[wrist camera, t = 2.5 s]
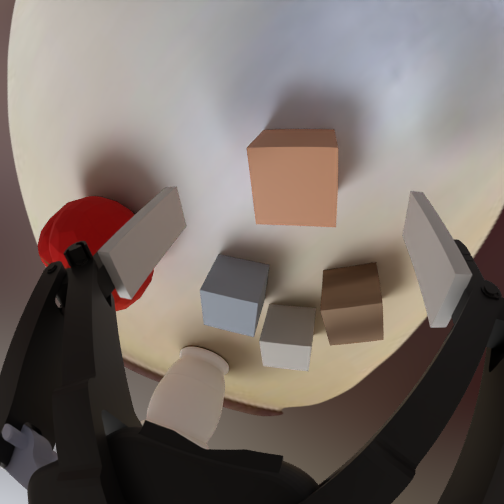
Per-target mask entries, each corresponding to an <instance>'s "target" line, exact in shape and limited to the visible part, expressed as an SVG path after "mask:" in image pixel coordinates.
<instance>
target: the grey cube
mask: <svg viewBox="0 0 504 504" xmlns="http://www.w3.org/2000/svg"><path fill="white" fill-rule="evenodd" d="M315 312H316V308H310V307H297V306H285V305H274V304H269V307H268V311H267V315H266V318H265V322H264V326H263V329H262V333H261V336H260V340H259V343H260V349H261V355H262V361H263V366H268V367H275V368H283V369H292V370H302V371H308V370H309V364H310V356H311V349H312V341H313V333H314V323H315Z"/></svg>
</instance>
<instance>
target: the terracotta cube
mask: <svg viewBox="0 0 504 504" xmlns="http://www.w3.org/2000/svg"><path fill="white" fill-rule="evenodd" d="M247 155H248V163H249V171H250V179H251V187H252V195H253V203H254V211H255V219H256V224H270V225H297V226H320V227H336V214H337V191H338V144H337V140H336V135H335V130H334V129H271V130H263V131H262V132H261V133H260V134H259V135H258V136H257V138H256V139H255V140H254V141H253V142H252V143H251V144H250V145H249V146H248V147H247Z"/></svg>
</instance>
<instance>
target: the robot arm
mask: <svg viewBox="0 0 504 504" xmlns="http://www.w3.org/2000/svg"><path fill="white" fill-rule="evenodd" d="M185 227H186V222H185V218H184V214H183V210H182V206H181V202H180V198H179V194H178V190H177V187H166V188H165V189H163V190H162V191H161V192H160V193H159V194H158V195H156V196H155V197H154V198H153V199H152V200H151V201H150V202H148V203H147V204H146V205H145V206H144V207H143V208H142V209H141V210H140V211H138V212H137V213H136V214H135V215H134V216H133V217H132V218H131V219H130V220H129V221H128V222H127V223H126V224H125V225H123V226H122V227H121V228H120V229H119V230H118V231H117V232H116V233H115V234H114V235H113V236H112V237H111V238H110V239H109V240H108V241H107V242H106V243H105V244H104V245H103V246H102V247H101V248H100V249H99V250H98V251H97V252H96V253H95V254H94V255H93V256H92V254H91V251H90V249H89V247H88V245H87V243H86V241H79V242H76V243H74V244H72V245H71V246H69V247H68V248H67V249H66V250H65V252H64V256H65V258H66V260H67V262H68V264H69V265H70V267H71V268H66V269H65V267H64V266H63V264H62V262H61V261H56V262H52V263H51V264H49V265H48V267H46V269H45V270H44V271H43V273H42V275H41V277H40V279H39V281H38V283H37V285H36V286H35V288H34V291H33V292H32V295H31V297H30V299H29V301H28V303H27V305H26V307H25V310H24V312H23V314H22V316H21V319H20V321H19V323H18V326H17V328H16V331H15V333H14V336H13V339H12V341H11V344H10V347H9V349H8V352H7V355H6V358H5V361H4V364H3V368H2V371H1V374H0V468H1V469H3V470H5V471H7V472H8V473H9V474H10V475H11V476H13V477H14V478H15V479H16V480H17V481H18V482H19V483H20V484H21V485H22V486H23V487H25V488H26V489H27V490H28V502H29V503H28V504H391V503H392V502H393V501H394V500H395V499H396V498H397V497H398V496H399V495H400V493H401V492H402V491H403V490H404V489H405V488H406V487H407V486H408V484H409V483H410V482H411V480H412V479H413V477H414V475H415V469H416V467H417V465H418V464H419V463H420V461H421V460H422V459H423V457H424V456H425V455H426V454H427V452H428V451H429V449H430V448H431V447H432V445H433V444H434V442H435V441H436V440H437V438H438V437H439V435H440V434H441V432H442V431H443V429H444V428H445V426H446V424H447V423H448V421H449V420H450V418H451V416H452V415H453V413H454V411H455V410H456V408H457V406H458V404H459V403H460V401H461V399H462V397H463V395H464V393H465V391H466V390H467V387H468V386H469V384H470V382H471V380H472V377H473V375H474V373H475V371H476V369H477V366H478V365H479V362H480V360H481V358H482V355H483V353H484V350H485V348H486V347H487V350H486V357H485V364H484V370H483V375H482V380H481V386H480V390H479V395H478V399H477V403H476V407H475V411H474V415H473V418H472V422H471V425H470V428H469V431H468V434H467V437H466V440H465V443H464V446H463V448H462V451H461V453H460V456H459V459H458V461H457V463H456V466H455V468H454V471H453V473H452V475H451V477H450V479H449V481H448V484H447V486H446V488H445V490H444V492H443V494H442V496H441V497H440V499H439V501H438V504H504V298H503V297H502V295H501V292H500V290H499V289H498V288H497V286H495V285H494V284H493V283H492V282H489V281H487V280H484V278H483V277H482V275H481V273H480V271H479V269H478V267H477V265H476V263H475V262H474V259H473V258H472V256H470V252H469V251H468V249H467V247H466V246H465V245H464V244H463V243H462V242H461V241H459V240H454V239H453V238H452V236H451V235H450V233H449V231H448V230H447V228H446V226H445V225H444V223H443V222H442V220H441V218H440V217H439V215H438V214H437V212H436V211H435V209H434V208H433V206H432V205H431V203H430V202H429V200H428V199H427V197H426V196H425V195H424V193H423V192H415V191H410V197H409V203H408V209H407V214H406V220H405V225H404V230H403V235H402V236H403V238H404V241H405V244H406V247H407V249H408V252H409V255H410V258H411V261H412V264H413V267H414V270H415V273H416V276H417V279H418V282H419V286H420V289H421V293H422V296H423V300H424V303H425V307H426V311H427V315H428V319H429V323H430V327H446V326H447V324H448V323H449V321H450V319H451V317H452V320H453V323H454V326H453V328H452V329H451V331H450V333H449V334H448V336H447V338H446V339H445V341H444V343H443V345H442V346H441V348H440V350H439V351H438V353H437V354H436V356H435V358H434V359H433V361H432V362H431V364H430V365H429V367H428V368H427V370H426V371H425V373H424V374H423V376H422V377H421V378H420V380H419V381H418V382H417V384H416V385H415V387H414V388H413V389H412V391H411V392H410V393H409V394H408V396H407V397H406V398H405V400H404V401H403V402H402V404H401V405H400V406H399V407H398V408H397V410H396V411H395V412H394V413H393V414H392V415H391V417H390V418H389V419H388V420H387V421H386V422H385V424H384V425H383V426H382V427H381V428H380V429H379V430H378V431H377V432H376V433H375V434H374V435H373V436H372V438H371V439H370V440H369V441H368V442H367V443H366V444H365V445H364V446H363V447H362V448H361V449H360V450H359V451H358V452H357V453H356V454H355V455H354V456H352V457H351V458H350V459H349V460H348V461H347V462H346V463H345V464H344V465H342V466H341V467H340V468H339V469H338V470H336V471H335V472H334V473H333V474H332V475H330V476H329V477H328V478H327V479H326V480H324V481H323V482H322V483H321V484H319V485H318V484H317V483H316V482H315V480H314V479H313V478H312V477H310V476H309V475H308V474H307V473H305V472H304V471H303V470H301V469H300V468H298V467H296V466H294V465H292V464H290V463H287V462H285V461H283V456H281V455H274V454H267V453H261V452H256V451H250V450H211V449H204V448H202V447H200V446H198V445H197V444H195V443H193V442H192V441H190V440H188V439H187V438H185V437H184V436H182V435H180V434H179V433H177V432H176V431H174V430H171V429H168V428H166V427H163V426H160V425H157V424H155V423H152V422H149V421H147V420H145V422H144V424H143V426H142V424H141V422H140V421H139V420H138V418H137V416H136V414H135V412H134V409H133V405H132V401H131V396H130V392H129V388H128V383H127V379H126V374H125V369H124V364H123V358H122V353H121V347H120V340H119V334H118V326H117V319H116V310H115V301H114V297H113V295H112V292H113V290H114V289H116V291H117V293H118V294H119V296H120V297H121V298H126V299H132V298H133V297H134V295H135V294H136V292H137V291H138V290H139V288H140V287H141V285H142V284H143V283H144V281H145V280H146V278H147V277H148V276H149V274H150V273H151V272H152V270H153V269H154V268H155V266H156V265H157V264H158V262H159V261H160V260H161V258H162V257H163V256H164V254H165V253H166V252H167V250H168V249H169V248H170V246H171V245H172V244H173V243H174V241H175V240H176V239H177V237H178V236H179V235H180V234H181V232H182V231H183V230H184V229H185ZM55 298H57V299H58V301H59V302H60V304H61V305H60V307H59V308H58V306H57V305H56V303H55ZM55 442H56V450H57V453H56V452H55V451H53V449H54V446H55Z"/></svg>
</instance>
